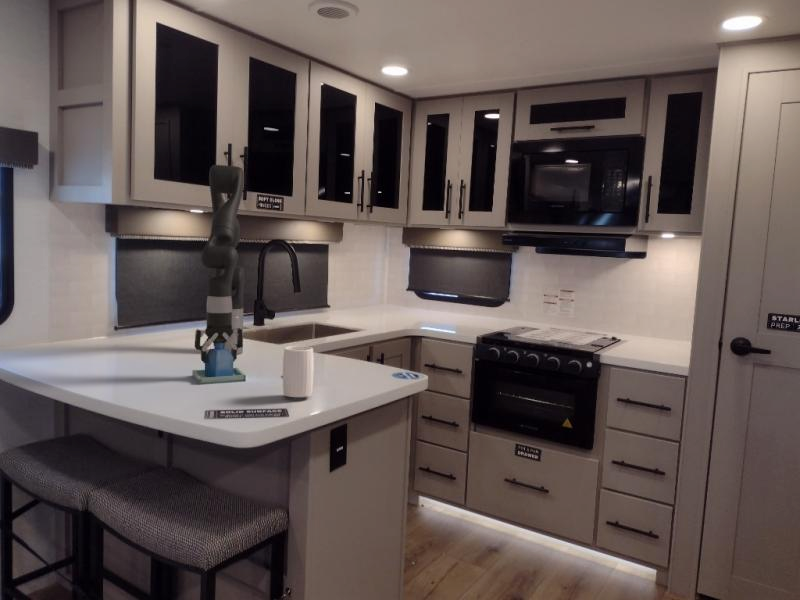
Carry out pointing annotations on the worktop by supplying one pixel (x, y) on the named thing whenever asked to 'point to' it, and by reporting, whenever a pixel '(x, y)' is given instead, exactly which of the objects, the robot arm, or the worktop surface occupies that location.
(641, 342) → the worktop surface
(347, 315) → the worktop surface
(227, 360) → the perfume bottle
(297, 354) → the cup
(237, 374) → the tray
